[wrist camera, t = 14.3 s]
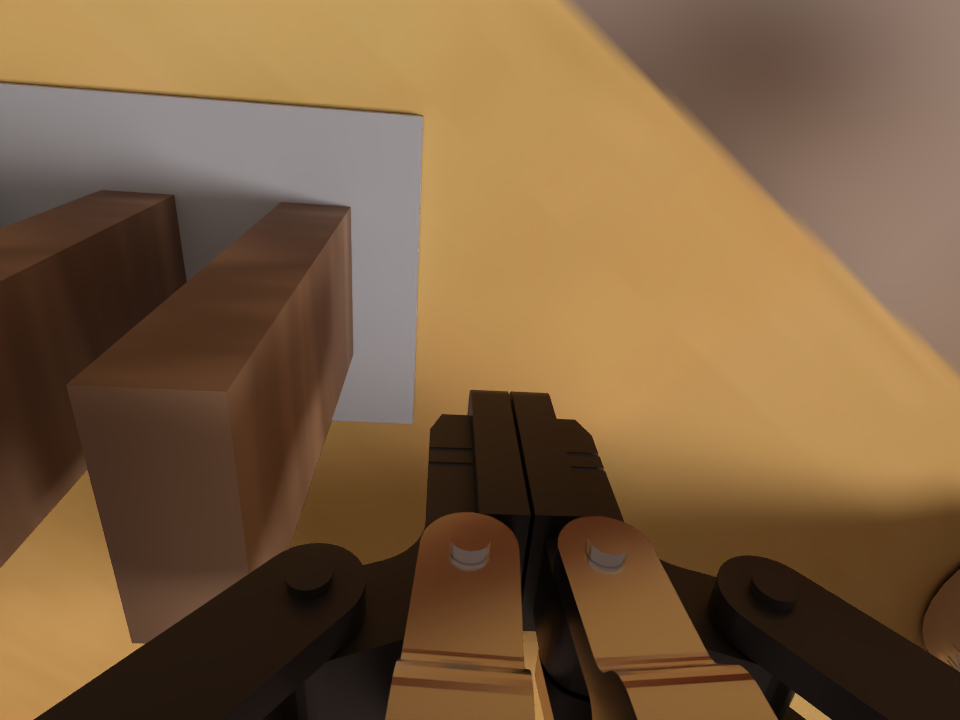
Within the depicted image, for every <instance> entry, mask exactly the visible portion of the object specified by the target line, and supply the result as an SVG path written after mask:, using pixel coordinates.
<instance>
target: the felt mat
mask: <svg viewBox="0 0 960 720" xmlns="http://www.w3.org/2000/svg"><path fill="white" fill-rule="evenodd" d="M422 136H423V115H412V114H399V113H386V112H373V111H361V110H348V109H335V108H322V107H309V106H297V105H284V104H271V103H258V102H245V101H233V100H220V99H207V98H194V97H181V96H168V95H156V94H143V93H130V92H117V91H104V90H92V89H79V88H66V87H53V86H40V85H28V84H15V83H2V82H0V228H2V227H5V226H8V225H10V224H13V223H15V222H18V221H21V220H23V219H26V218H29V217H31V216H34V215H37V214H39V213H42V212H45V211H47V210H50V209H52V208H55V207H58V206H60V205H63V204H66V203H68V202H71V201H74V200H76V199H79V198H82V197H84V196H87V195H89V194H92V193H95V192H97V191H100V190H110V191H125V192H140V193H155V194H170V195H174V196H175V203H176V210H177V217H178V224H179V231H180V238H181V245H182V252H183V259H184V266H185V273H186V280H187V282H188V281H189V280H190V279H191V278H192V277H193V276H195V275H196V274H197V273H198V272H199V271H201V270H202V269H203V268H204V267H205V266H206V265H208V264H209V263H210V262H211V261H212V260H213V259H215V258H216V257H217V256H218V255H219V254H221V253H222V252H223V251H224V250H225V249H226V248H228V247H229V246H230V245H231V244H232V243H233V242H235V241H236V240H237V239H238V238H239V237H241V236H242V235H243V234H244V233H245V232H246V231H248V230H249V229H250V228H251V227H252V226H253V225H255V224H256V223H257V222H258V221H259V220H261V219H262V218H263V217H264V216H265V215H266V214H268V213H269V212H270V211H271V210H272V209H273V208H275V207H276V206H277V205H278V204H279V203H281V202H288V203H303V204H318V205H333V206H348V207H351V243H352V300H353V357H352V360H351V363H350V366H349V369H348V372H347V375H346V378H345V382H344V385H343V388H342V391H341V394H340V397H339V400H338V403H337V406H336V409H335V412H334V415H333V418H332V421H350V422H374V423H398V424H413V412H414V381H415V350H416V320H417V289H418V258H419V228H420V197H421V166H422Z"/></svg>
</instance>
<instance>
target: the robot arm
mask: <svg viewBox="0 0 960 720" xmlns="http://www.w3.org/2000/svg"><path fill="white" fill-rule="evenodd" d="M603 469H604V467H603V465H602V462H601V459H600V457H598V451H597V449H596V446H595V444H594V441H593V438H592V436H591V435H590V434H589V433H588V432H587V431H586V430H585V429H584V428H583V427H582V426H581V425H580V424H579V423H578V422H577V421H576V420H568V419H556V416H555V412H554V409H553V406H552V402H551V399H550V396H549V394H548V393H532V392H510V394H509V393H508V392H507V391H485V390H470V394H469V404H468V415H446V414H442V415H441V416H440V418H439V419H438V420H437V421H436V423H435V424H434V425H433V426H432V428H431V429H430V444H429V464H428V485H427V505H426V523H425V528H424V531H423V533H422V535H421V536H420V538H419V539H418V541H417V542H416V543H415V544H414V545H413V546H412V547H410V548H409V549H408V550H406V551H405V552H403V553H401V554H399V555H397V556H395V557H392V558H389V559H386V560H383V561H379V562H374V563H370V564H366V565H362V564H361V562H360V561H359V559H358V558H357V557H356V556H355V555H354V554H352V553H351V552H350V551H348V550H346V549H344V548H342V547H339V546H336V545H331V544H323V543H313V544H305V545H300V546H296V547H293V548H290V549H288V550H285V551H283V552H281V553H279V554H278V555H276V556H274V557H273V558H271V559H270V560H268V561H267V562H266V563H264V564H263V565H261V566H260V567H258V568H257V569H255V570H254V571H252V572H251V573H249V574H248V575H246V576H245V577H243V578H242V579H240V580H239V581H237V582H236V583H235V584H233V585H232V586H230V587H229V588H227V589H226V590H224V591H223V592H221V593H220V594H218V595H217V596H215V597H214V598H212V599H211V600H209V601H208V602H207V603H205V604H204V605H202V606H201V607H199V608H198V609H196V610H195V611H193V612H192V613H190V614H189V615H187V616H186V617H184V618H183V619H181V620H180V621H179V622H177V623H176V624H174V625H173V626H171V627H170V628H168V629H167V630H165V631H164V632H162V633H161V634H159V635H158V636H156V637H155V638H153V639H152V640H150V641H149V642H148V643H146V644H145V645H143V646H142V647H140V648H139V649H137V650H136V651H134V652H133V653H131V654H130V655H128V656H127V657H125V658H124V659H122V660H121V661H120V662H118V663H117V664H115V665H114V666H112V667H111V668H109V669H108V670H106V671H105V672H103V673H102V674H100V675H99V676H97V677H96V678H94V679H93V680H92V681H90V682H89V683H87V684H86V685H84V686H83V687H81V688H80V689H78V690H77V691H75V692H74V693H72V694H71V695H69V696H68V697H66V698H65V699H63V700H62V701H61V702H59V703H58V704H56V705H55V706H53V707H52V708H50V709H49V710H47V711H46V712H44V713H43V714H41V715H40V716H38V717H37V718H35V719H34V720H535V710H534V693H533V681H532V675H531V671H530V670H529V669H525V666H524V648H523V631H536V634H537V641H538V647H539V649H538V655H537V661H536V666H535V680H536V685H537V689H538V694H539V698H540V703H541V708H542V712H543V717H544V720H806V719H805V718H803V717H802V716H801V715H799V714H798V713H797V712H795V711H794V710H793V709H792V708H790V707H789V705H790V703H791V701H792V699H793V697H794V695H795V693H797V694H798V695H800V696H801V697H802V698H804V699H805V700H806V701H808V702H809V703H810V704H812V705H813V706H814V707H816V708H817V709H818V710H820V711H821V712H822V713H824V714H825V715H826V716H828V717H829V718H830V719H832V720H960V569H959V570H958V571H957V572H956V573H955V574H954V575H953V576H952V577H951V578H950V579H949V580H948V581H947V582H946V583H945V584H944V585H943V586H942V587H941V589H940V590H939V591H938V593H937V594H936V595H935V597H934V598H933V599H932V601H931V603H930V605H929V607H928V610H927V612H926V614H925V616H924V622H923V628H922V634H923V639H924V645H925V646H926V648H927V650H928V651H929V653H928V652H927V651H925V650H924V649H922V648H920V647H919V646H917V645H915V644H914V643H912V642H910V641H909V640H907V639H906V638H904V637H902V636H901V635H899V634H897V633H896V632H894V631H893V630H891V629H889V628H888V627H886V626H884V625H883V624H881V623H880V622H878V621H876V620H875V619H873V618H871V617H870V616H868V615H866V614H865V613H863V612H862V611H860V610H858V609H857V608H855V607H853V606H852V605H850V604H849V603H847V602H845V601H844V600H842V599H840V598H839V597H837V596H836V595H834V594H832V593H831V592H829V591H827V590H826V589H824V588H823V587H821V586H819V585H818V584H816V583H814V582H813V581H811V580H809V579H808V578H806V577H805V576H803V575H801V574H800V573H798V572H796V571H795V570H793V569H791V568H789V567H788V566H786V565H783V564H781V563H779V562H777V561H774V560H771V559H767V558H763V557H758V556H738V557H734V558H731V559H729V560H727V561H726V562H724V564H723V565H722V566H721V567H720V569H719V572H718V574H717V577H714V576H710V575H707V574H703V573H699V572H695V571H692V570H688V569H684V568H681V567H677V566H674V565H671V564H669V563H667V562H664V561H662V560H660V559H659V558H658V556H657V554H656V552H655V550H654V548H653V547H652V545H651V544H650V542H649V541H648V540H647V539H646V537H645V536H644V535H643V534H641V533H640V532H639V531H638V530H636V529H635V528H633V527H632V526H630V525H628V524H626V523H624V520H623V517H622V515H621V512H620V509H619V507H618V504H617V502H616V499H615V496H614V494H613V491H612V488H611V486H610V483H609V480H608V478H607V475H606V473H605V471H604V470H603Z"/></svg>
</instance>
